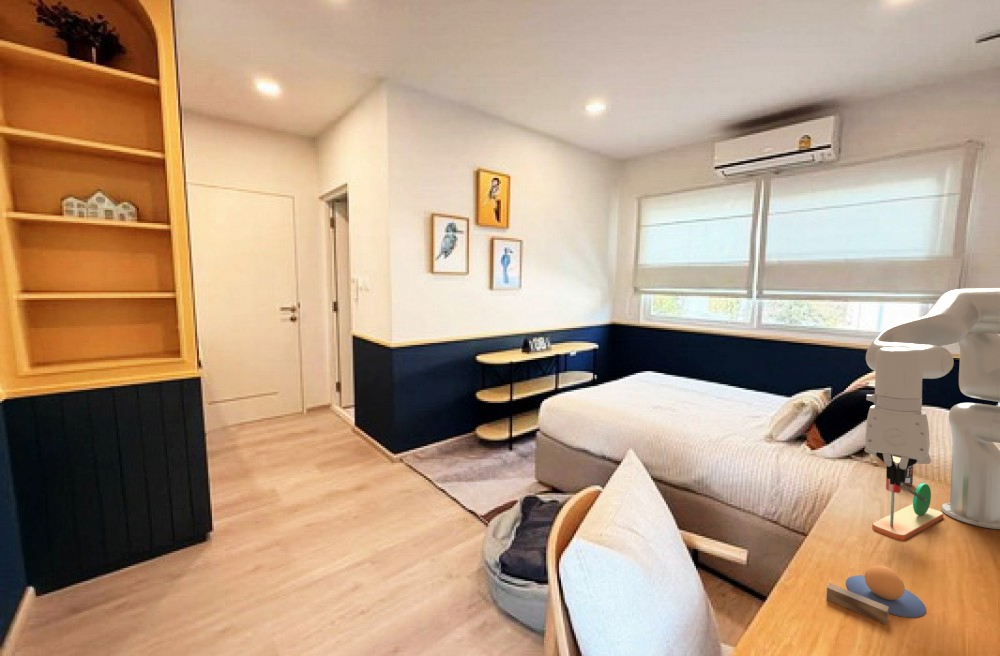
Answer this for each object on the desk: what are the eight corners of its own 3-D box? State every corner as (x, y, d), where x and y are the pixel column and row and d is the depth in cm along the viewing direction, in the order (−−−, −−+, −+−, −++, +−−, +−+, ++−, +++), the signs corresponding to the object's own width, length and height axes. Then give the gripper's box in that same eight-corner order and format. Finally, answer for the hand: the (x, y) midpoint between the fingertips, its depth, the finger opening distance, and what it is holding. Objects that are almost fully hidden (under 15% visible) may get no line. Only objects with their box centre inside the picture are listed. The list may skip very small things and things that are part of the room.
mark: (900, 581, 89) (900, 580, 89) (942, 622, 78) (942, 621, 78) (834, 572, 93) (834, 571, 93) (865, 611, 81) (865, 610, 81)
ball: (889, 579, 81) (886, 608, 81) (914, 577, 82) (911, 606, 82) (858, 559, 87) (855, 587, 87) (882, 558, 88) (878, 585, 88)
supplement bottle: (915, 488, 133) (916, 453, 132) (890, 484, 136) (891, 450, 135) (909, 481, 138) (910, 447, 137) (885, 477, 141) (886, 444, 140)
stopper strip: (888, 619, 79) (888, 606, 79) (886, 624, 78) (887, 612, 77) (829, 594, 86) (829, 583, 86) (826, 599, 84) (826, 587, 84)
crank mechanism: (902, 541, 104) (905, 466, 103) (869, 529, 110) (872, 457, 109) (945, 517, 115) (948, 449, 114) (913, 507, 121) (916, 442, 120)
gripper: (850, 401, 95) (849, 478, 97) (946, 412, 84) (943, 500, 85) (856, 395, 100) (855, 468, 102) (948, 405, 89) (945, 488, 90)
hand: (895, 483), depth 93 cm, fingers closed
